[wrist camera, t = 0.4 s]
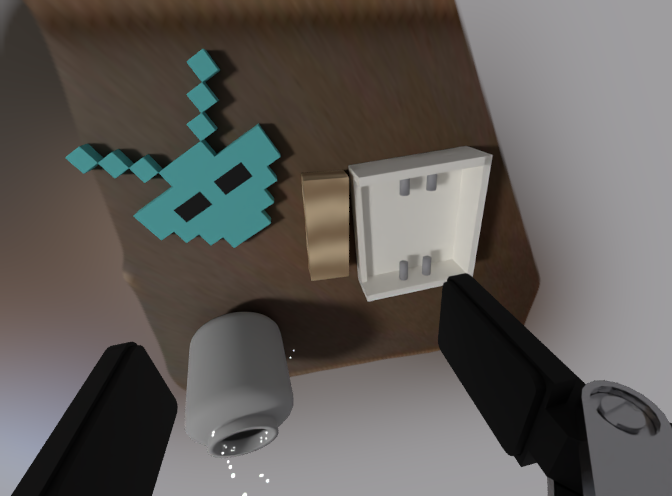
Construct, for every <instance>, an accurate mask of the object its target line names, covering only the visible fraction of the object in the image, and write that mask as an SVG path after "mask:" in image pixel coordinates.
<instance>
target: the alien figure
mask: <svg viewBox="0 0 672 496" xmlns="http://www.w3.org/2000/svg"><path fill="white" fill-rule="evenodd" d="M187 63H188V65H189V66H190V67H191V68H192V70H193V71H194V72H195V74H196V75H197V76H198V78H199V79H200V80H201V81H202V83H201V84H199V85H198V86H197V87H195V88H194V89H193V90H192V91H190V92H189V93H188V94H186V95H187V96H188V97H189V98H190V99H191V101H192V102H193V103H194V104H195V106H196V107H197V108H198V109H199V111H200V112H201V114H200V115H198V116H197V117H196V118H194V119H193V120H192V121H190V122H189V123H188V124H187V126H188V127H189V128H190V129H191V130H192V131H193V133H194V134H195V135H196V136H197V137H198V138H199V140H200V142H199V143H197V144H196V145H195V146H193V147H192V148H191V149H189V150H188V151H186V152H185V153H184V154H182V155H181V156H180V157H178V158H177V159H176V160H174V161H173V162H172V163H170V164H169V165H168V166H166V167H165V168H164V169H163V168H162V167H161V166H160V165H159V164H158V163H157V162H156V161H155V160H154V159H153V158H152V157H151V156H150V155H149V154H148V155H146V156H144V157H143V158H141V159H140V160H139V161H137V162H136V163H135V164H134V163H133V162H132V161H131V160H130V159H129V158H128V157H127V156H126V155H125V154H124V153H123V152H121V151H120V150H119V149H117V150H115V151H113V152H111V153H110V154H109V155H107V156H106V157H105V158H103V157H102V156H101V155H100V154H99V153H98V152H97V151H95V150H94V149H93V148H92V147H91V146H90V145H89V144H85V145H82V146H79V147H78V148H77V149H76V150H74V151H73V152H72V153H70V154H69V155H68V156H67V157H66V159H67V160H68V161H69V162H70V163H72V164H73V165H74V166H75V167H77V168H78V169H79V170H80V171H81V172H82V173H86V172H88V171H90V170H92V169H93V168H95V167H96V166H97V165H100V166H102V167H103V168H104V169H105V170H106V171H107V172H108V173H109V174H110V175H112V176H113V177H114V178H117V177H118V176H120V175H121V174H123V173H124V172H125V171H126V170H128V169H130V170H131V171H132V172H133V173H135V174H136V175H137V176H138V177H139V178H140V179H141V180H142V181H143V182H144V183H145V182H147V181H148V180H149V179H151V178H152V177H153V176H155V175H156V174H157V173H159V174H160V175H161V176H162V177H163V178H164V179H165V180H166V181H167V182H168V183H169V184H170V185H171V186H172V187H171V188H169V189H168V190H166V191H165V192H164V193H162V194H161V195H160V196H158V197H157V198H155V199H154V200H153V201H151V202H150V203H149V204H147V205H146V206H144V207H143V208H142V209H140V210H139V211H138V212H137V213H136V214H135V215H134V217H135V218H136V219H137V220H138V221H139V222H141V223H142V224H143V225H144V226H145V227H146V228H148V229H149V230H150V231H151V232H152V233H153V234H155V235H156V236H157V237H158V238H159V239H160V240H163V239H164V238H166V237H167V236H168V235H170V234H171V233H173V232H175V233H176V234H177V235H178V236H179V237H181V238H182V239H183V240H184V241H185V242H186V243H187V242H189V241H190V240H192V239H193V238H195V237H196V236H197V235H200V236H201V237H202V238H203V239H204V240H206V241H207V242H208V243H209V244H210V245H212V244H214V243H215V242H217V241H218V240H220V239H221V238H224V239H226V240H227V241H228V242H229V243H230V244H231V245H232V246H233V247H234V248H235V247H236V246H238V245H239V244H241V243H242V242H244V241H245V240H247V239H248V238H250V237H251V236H253V235H254V234H256V233H257V232H259V231H260V230H262V229H263V228H265V227H266V226H267V225H269V224H270V223H271V217H270V216H269V215H268V214H267V213H266V211H265V210H264V209H265V208H267V207H268V206H270V205H271V204H273V203H274V197H273V196H272V195H271V194H270V192H269V191H268V190H267V189H266V188H267V187H268V186H270V185H271V184H273V183H274V182H276V181H277V176H276V175H275V173H274V172H273V171H272V169H271V168H270V167H269V165H270V164H271V163H272V162H274V161H275V160H277V159H278V158H280V157H281V156H280V153H279V151H278V150H277V148H276V147H275V146H274V144H273V143H272V141H271V140H270V139H269V137H268V136H267V134H266V133H265V132H264V130H263V129H262V127H261V126H260V125H259V123H258V124H257V125H256V126H254V127H253V128H252V129H250V130H249V131H247V132H246V133H245V134H243V135H242V136H241V137H239V138H238V139H237V140H235V141H234V142H232V143H231V144H230V145H228V146H227V147H226V148H224V149H223V150H221V151H220V152H219V153H217V154H216V152H215V151H214V150H213V149H212V148H211V146H210V145H209V144H208V143H207V142H206V141H205V138H206V137H207V136H209V135H210V134H211V133H213V132H214V131H215V130H217V129H218V128H217V126H216V125H215V124H214V123H213V121H212V120H211V119H210V118H209V116H208V115H207V114H206V113H205V111H206V110H207V109H208V108H210V107H211V106H212V105H214V104H215V103H216V102H218V101H219V100H218V98H217V97H216V96H215V94H214V93H213V92H212V90H211V89H210V88H209V86H208V85H207V84H206V81H207V80H209V79H210V78H211V77H212V76H214V75H215V74H216V73H218V72H219V71H220V69H219V67H218V66H217V65H216V63H215V62H214V61H213V59H212V58H211V56H210V55H209V54H208V52H207V51H206V50H205V49H202V50H201V51H199V52H198V53H197V54H196V55H194V56H193V57H192V58H190V59H189V60H188V61H187Z"/></svg>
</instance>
